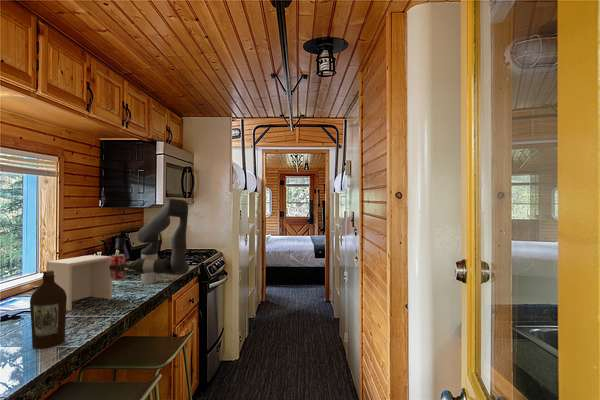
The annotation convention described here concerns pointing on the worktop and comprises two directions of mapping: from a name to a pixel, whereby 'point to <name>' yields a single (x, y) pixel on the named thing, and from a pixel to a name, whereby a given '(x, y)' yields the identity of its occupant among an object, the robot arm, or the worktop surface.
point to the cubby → (83, 277)
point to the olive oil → (48, 313)
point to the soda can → (117, 260)
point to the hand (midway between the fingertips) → (113, 265)
